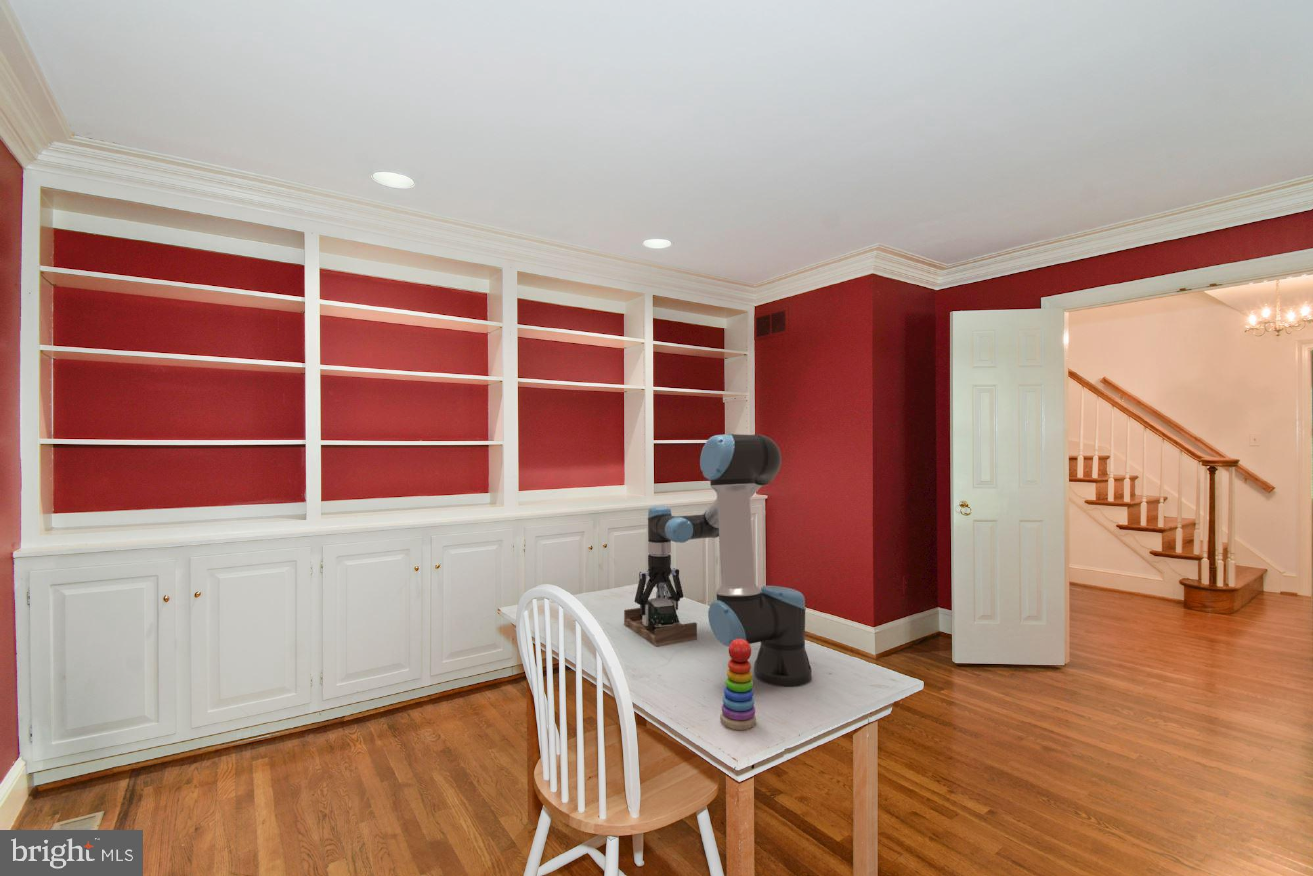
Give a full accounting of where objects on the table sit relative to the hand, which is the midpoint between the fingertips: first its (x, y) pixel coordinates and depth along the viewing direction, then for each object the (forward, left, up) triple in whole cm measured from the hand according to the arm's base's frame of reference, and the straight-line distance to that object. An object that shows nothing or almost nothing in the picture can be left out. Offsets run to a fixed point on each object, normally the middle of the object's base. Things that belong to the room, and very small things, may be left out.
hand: (659, 622), depth 193 cm
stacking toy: (-62, +13, -3) cm, 63 cm away
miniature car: (0, 0, -1) cm, 1 cm away
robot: (+18, -10, -3) cm, 21 cm away
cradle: (0, 0, -3) cm, 3 cm away
